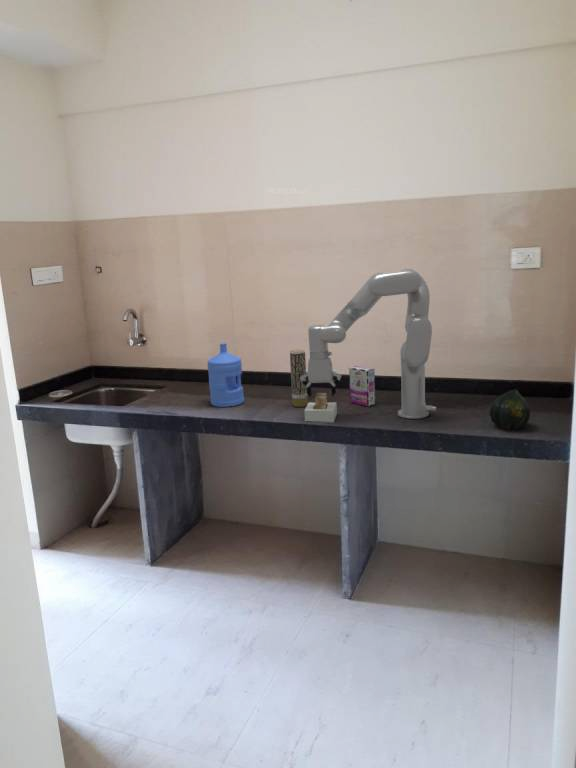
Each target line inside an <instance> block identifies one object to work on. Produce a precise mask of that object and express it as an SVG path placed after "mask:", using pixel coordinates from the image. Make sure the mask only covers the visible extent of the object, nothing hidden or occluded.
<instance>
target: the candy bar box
mask: <svg viewBox="0 0 576 768" xmlns="http://www.w3.org/2000/svg"><path fill="white" fill-rule="evenodd" d="M348 369H349V374H348V375H349V401H350V404H355V405H359V406H364V407H372V406H374V405H376V388H375V387H376V385H375V384H376V382H375V380H376V379H375V368H370V367H365V366H359V365H355V366H351V367H349V368H348Z"/></svg>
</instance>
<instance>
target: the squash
mask: <svg viewBox="0 0 576 768" xmlns="http://www.w3.org/2000/svg"><path fill="white" fill-rule="evenodd" d="M489 416H490V419H491V422H492V423H494V424H495V425H498V426H500V427H502V428H503V429H504V430H506V431H508V430H510V429H511V430H517V429H519V428H521V427H524V426H526V425H527V423H528V422H529V421H530V416H531V409H530V406H529V404H528V401H526V399H525V398H524V397H523V395H522V394H521V393H520V392H519V390H517V389H516V388H515V389H511V390H508V391H506V392H504V393H502V394H501V395H499V396H498V397H497V398H496V399H495V400H494V401H493V403H492V404H491V406H490V410H489Z"/></svg>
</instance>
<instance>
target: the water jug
mask: <svg viewBox="0 0 576 768" xmlns="http://www.w3.org/2000/svg"><path fill="white" fill-rule="evenodd" d="M227 348H228V347H227V343H220V344H219V350H220V351H219V353H218V354H216V355H215V356H212V357H210V358H209V359H207V371H208V386H209V393H210V397H209V398H210V399H209V401H210V404H211V405H212V406H213V407H216V406H217V407H216V408H231V407H230V406H232V407H237V406H240V405H242V404H243V403H244V401H245V396H244V387H243V386H242V379H241V376H242V373H243V370H242V368H243V363H242V359H241V357H240V356H237V355H234V354H232V353H230V352H228V349H227ZM236 405H237V406H236Z"/></svg>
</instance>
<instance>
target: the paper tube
mask: <svg viewBox="0 0 576 768" xmlns="http://www.w3.org/2000/svg"><path fill="white" fill-rule="evenodd" d="M289 361H290V362H289V365H290V381H291V382H290V383H291V385H290V386H291V400H292V401H291V402H292V406H293V407H295V408H303V407H307V405H308V394H307V387H306V386H305V385H304V384H303V383H302V381H301V379H300V376H302V375H304V374H305V373H307V363H306V362H307V361H306V350H305V349H292V350H289ZM304 379H305V381H306V382H307V377H305V378H304Z"/></svg>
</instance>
